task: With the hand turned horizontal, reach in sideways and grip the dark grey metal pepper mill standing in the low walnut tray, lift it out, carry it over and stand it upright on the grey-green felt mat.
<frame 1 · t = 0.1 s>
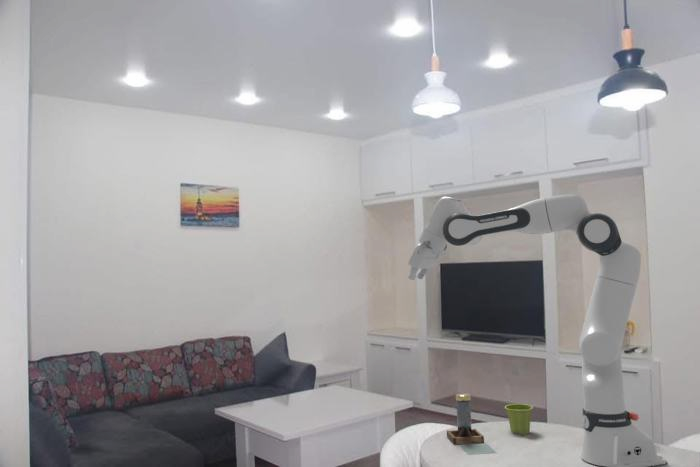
hand: (415, 278, 194), 54 cm above the table, tool tilted 30°, fingers open, 8 cm apart
coffee cup: (614, 440, 187), on the table
mat: (478, 451, 180), on the table
tray: (465, 441, 191), on the table
plant pot: (520, 433, 199), on the table
pepper mill: (465, 439, 191), point 1 cm above the table, touching tray
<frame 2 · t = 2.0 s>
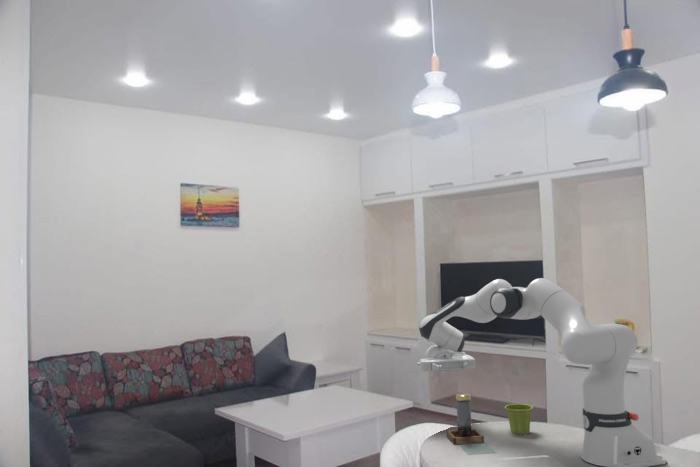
hand: (452, 367, 205), 22 cm above the table, tool horizontal, fingers open, 8 cm apart
nothing on the table moved.
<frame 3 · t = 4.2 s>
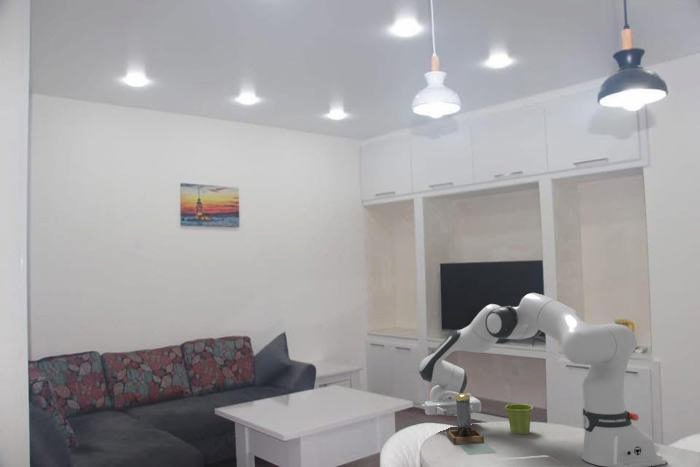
hand: (457, 411, 200), 8 cm above the table, tool horizontal, fingers open, 8 cm apart
nothing on the table moved.
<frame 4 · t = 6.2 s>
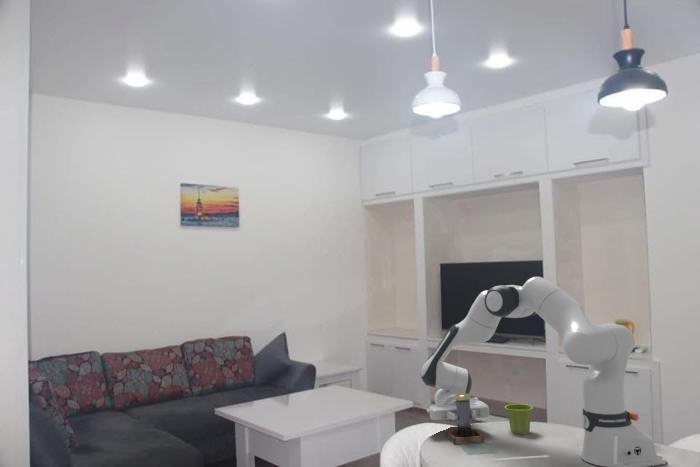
hand: (464, 417, 191), 8 cm above the table, tool horizontal, fingers closed on pepper mill, 5 cm apart
pepper mill: (465, 439, 191), point 1 cm above the table, touching gripper, tray
everything else where it was.
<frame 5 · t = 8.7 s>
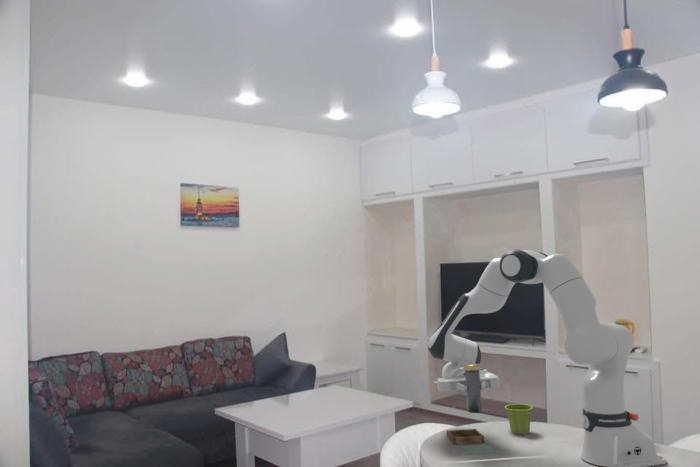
hand: (474, 387, 183), 19 cm above the table, tool horizontal, fingers closed on pepper mill, 4 cm apart
pepper mill: (474, 411, 183), point 12 cm above the table, touching gripper
everything else where it was.
when the fingers open (10 cm above the table, at t = 11.2 s): pepper mill drops 1 cm, resting on mat.
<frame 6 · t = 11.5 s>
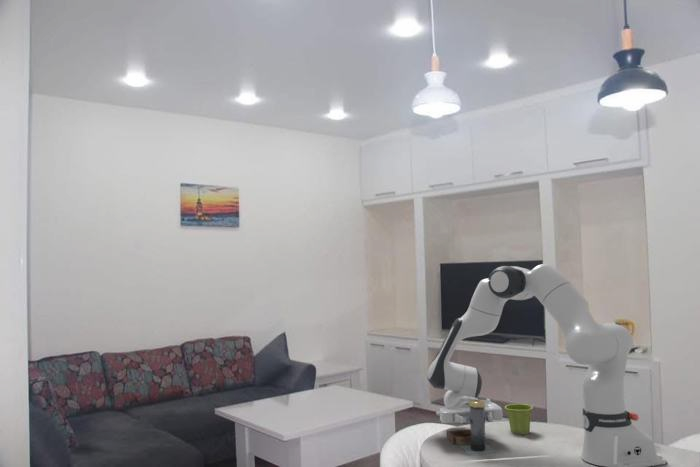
hand: (477, 420, 180), 10 cm above the table, tool horizontal, fingers open, 7 cm apart
pepper mill: (477, 448, 180), point 1 cm above the table, touching mat
everything else where it was.
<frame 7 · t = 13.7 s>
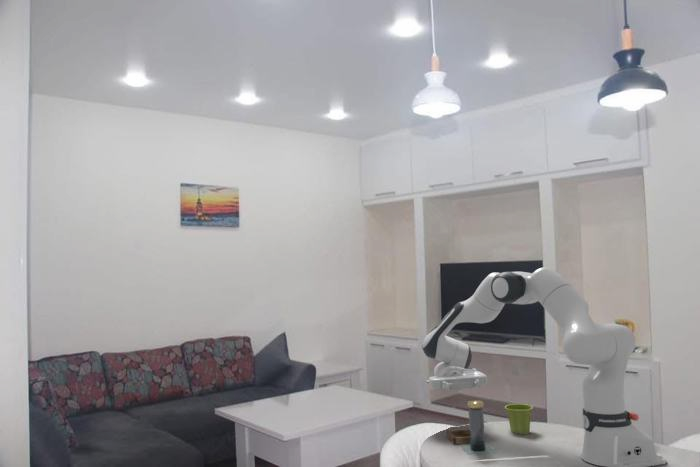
hand: (463, 385, 195), 18 cm above the table, tool horizontal, fingers open, 8 cm apart
nothing on the table moved.
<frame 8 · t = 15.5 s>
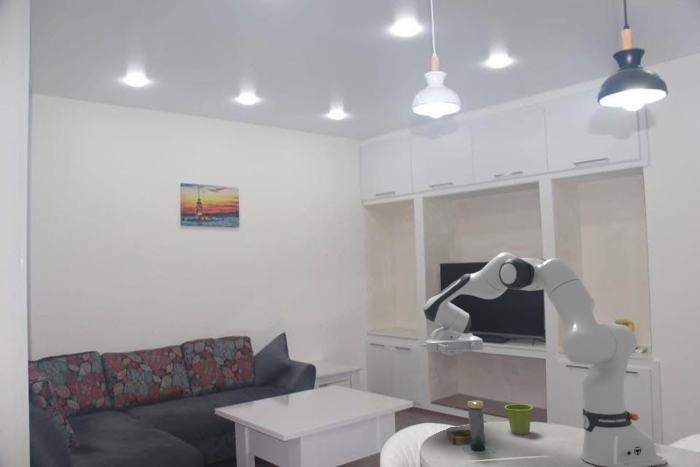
hand: (459, 347, 198), 30 cm above the table, tool horizontal, fingers open, 8 cm apart
nothing on the table moved.
at the end: pepper mill inside the target area on the mat (0.0 cm from its centre), point 0.6 cm above the mat's base; pepper mill tilted 0°; the gripper is holding nothing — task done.
